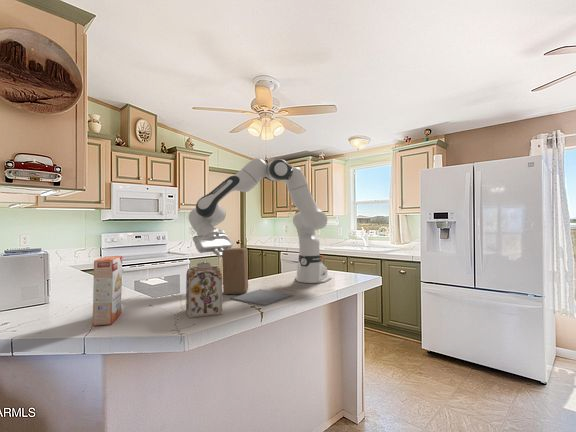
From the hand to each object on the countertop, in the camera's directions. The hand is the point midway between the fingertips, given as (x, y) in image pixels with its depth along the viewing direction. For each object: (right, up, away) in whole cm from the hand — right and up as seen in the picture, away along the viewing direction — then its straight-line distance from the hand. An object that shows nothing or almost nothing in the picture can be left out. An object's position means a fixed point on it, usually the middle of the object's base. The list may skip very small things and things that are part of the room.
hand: (222, 256), depth 152 cm
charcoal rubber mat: (+20, -16, -15) cm, 30 cm away
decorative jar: (+1, -16, -36) cm, 40 cm away
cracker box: (-29, -16, -45) cm, 56 cm away
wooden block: (+8, -16, -6) cm, 19 cm away
